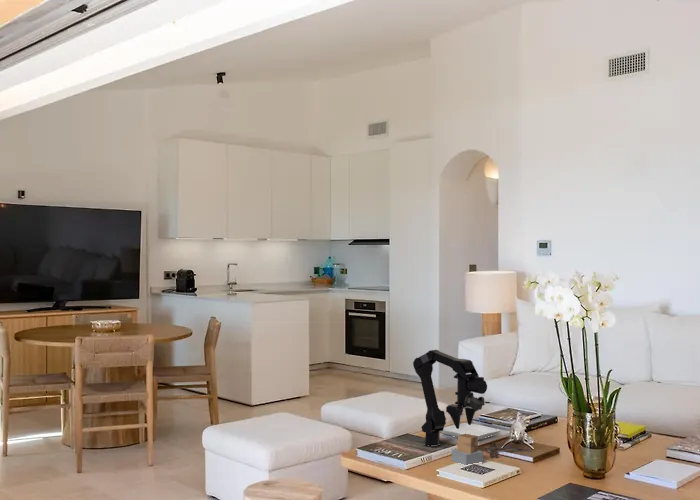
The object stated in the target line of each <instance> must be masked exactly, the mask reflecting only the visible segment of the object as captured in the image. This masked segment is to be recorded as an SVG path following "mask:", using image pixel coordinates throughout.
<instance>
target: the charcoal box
mask: <svg viewBox="0 0 700 500" xmlns="http://www.w3.org/2000/svg"><path fill="white" fill-rule="evenodd" d="M451 462H453V463H456V464H458V463H461V464H464V465H468V464H473V463H479V462H483V463H484V451H482V450H480V449H478V451H476V452H473V453H471V454H470V453H465V452H460V451H458V448H454V449H453V448H452V449H451ZM461 464H460V465H461Z"/></svg>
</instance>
